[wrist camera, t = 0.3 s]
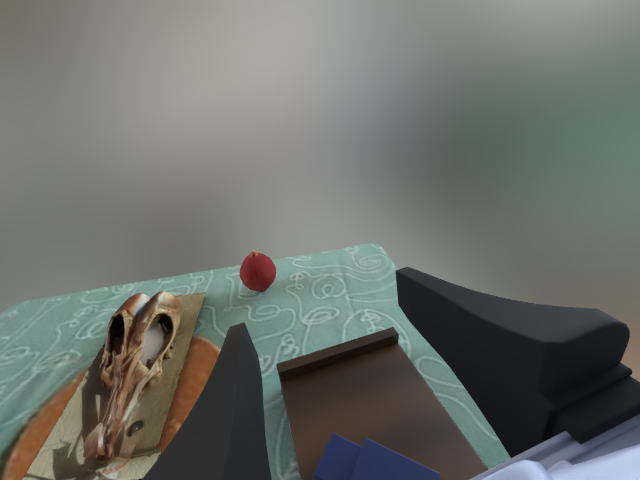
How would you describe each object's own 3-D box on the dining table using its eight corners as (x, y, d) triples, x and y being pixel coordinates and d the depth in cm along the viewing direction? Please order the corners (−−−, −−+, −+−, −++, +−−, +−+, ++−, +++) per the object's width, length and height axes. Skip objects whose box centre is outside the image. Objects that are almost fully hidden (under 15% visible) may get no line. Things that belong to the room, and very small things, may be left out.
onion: (238, 293, 49) (226, 253, 45) (264, 276, 52) (255, 238, 48) (259, 306, 45) (248, 264, 41) (286, 287, 49) (278, 247, 45)
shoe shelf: (585, 636, 17) (611, 619, 15) (364, 788, 14) (362, 791, 12) (392, 350, 35) (393, 326, 34) (282, 387, 32) (276, 363, 31)
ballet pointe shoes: (198, 258, 48) (145, 431, 23) (208, 290, 51) (170, 472, 26) (109, 273, 45) (-53, 480, 21) (125, 305, 48) (0, 519, 24)
